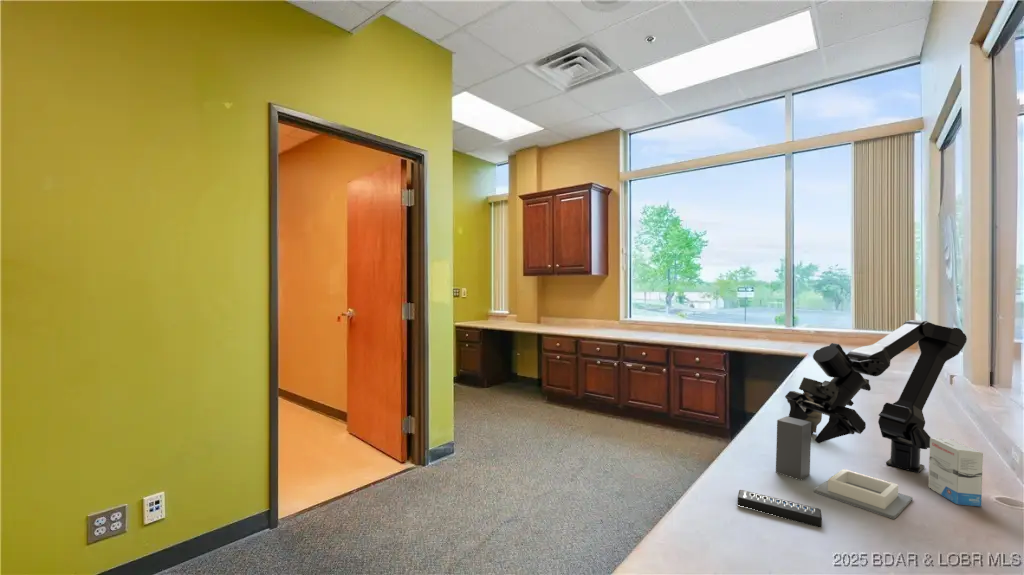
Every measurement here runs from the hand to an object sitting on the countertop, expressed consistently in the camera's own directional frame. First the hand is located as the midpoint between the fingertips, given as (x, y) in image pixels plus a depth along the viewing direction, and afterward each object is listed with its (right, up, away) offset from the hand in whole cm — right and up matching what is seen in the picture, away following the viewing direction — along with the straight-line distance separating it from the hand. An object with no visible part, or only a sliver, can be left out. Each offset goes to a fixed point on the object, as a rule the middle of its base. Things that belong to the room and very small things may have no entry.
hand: (801, 434), depth 110 cm
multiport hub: (-17, -10, -19) cm, 28 cm away
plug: (-2, -9, 0) cm, 10 cm away
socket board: (+6, -10, -11) cm, 16 cm away
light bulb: (+23, -10, +30) cm, 39 cm away
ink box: (+27, -10, -11) cm, 31 cm away
